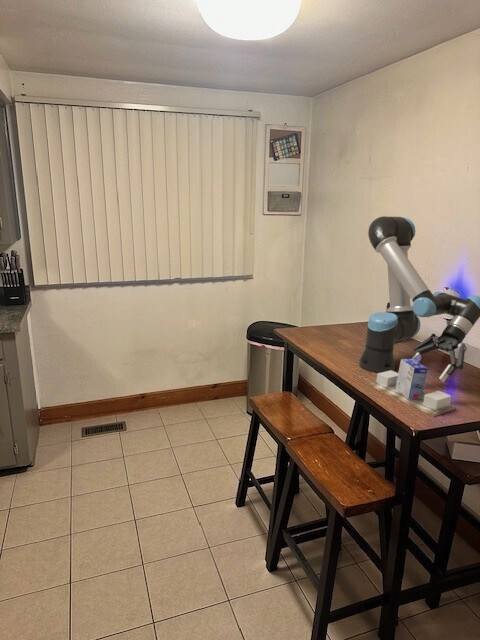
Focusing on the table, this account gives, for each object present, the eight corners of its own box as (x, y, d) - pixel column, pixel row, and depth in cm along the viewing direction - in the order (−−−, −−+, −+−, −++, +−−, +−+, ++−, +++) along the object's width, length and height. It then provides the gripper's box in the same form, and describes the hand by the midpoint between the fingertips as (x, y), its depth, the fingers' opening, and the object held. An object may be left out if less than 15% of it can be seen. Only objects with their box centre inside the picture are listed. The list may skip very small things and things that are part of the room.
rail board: (370, 385, 171) (370, 381, 170) (390, 380, 177) (391, 376, 177) (433, 416, 148) (434, 412, 148) (454, 409, 155) (455, 405, 154)
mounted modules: (376, 381, 171) (377, 373, 170) (389, 378, 175) (391, 370, 174) (435, 409, 150) (437, 400, 149) (449, 405, 154) (451, 395, 153)
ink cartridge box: (422, 399, 157) (429, 362, 153) (408, 400, 156) (414, 362, 152) (408, 388, 166) (414, 352, 162) (395, 388, 166) (400, 352, 162)
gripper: (491, 346, 158) (458, 392, 155) (431, 327, 179) (401, 367, 176) (485, 334, 154) (452, 380, 151) (425, 316, 175) (394, 357, 172)
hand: (424, 373), depth 163 cm, fingers open, 13 cm apart
